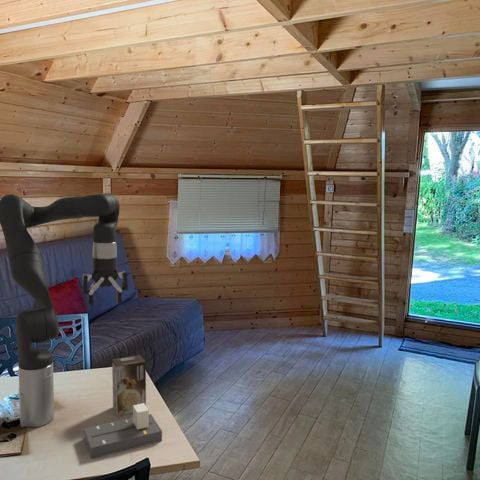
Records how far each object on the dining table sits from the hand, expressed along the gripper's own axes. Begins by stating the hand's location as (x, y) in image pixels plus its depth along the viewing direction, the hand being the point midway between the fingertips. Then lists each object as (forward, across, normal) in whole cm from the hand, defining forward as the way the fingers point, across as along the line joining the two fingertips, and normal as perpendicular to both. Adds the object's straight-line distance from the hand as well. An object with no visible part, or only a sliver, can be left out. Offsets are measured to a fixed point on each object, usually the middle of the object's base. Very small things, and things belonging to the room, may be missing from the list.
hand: (105, 304), depth 153 cm
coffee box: (+30, +4, -15) cm, 34 cm away
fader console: (+30, -2, -31) cm, 43 cm away
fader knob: (+27, +3, -31) cm, 41 cm away
